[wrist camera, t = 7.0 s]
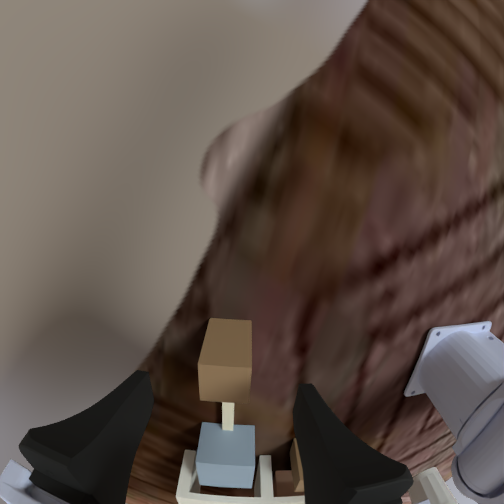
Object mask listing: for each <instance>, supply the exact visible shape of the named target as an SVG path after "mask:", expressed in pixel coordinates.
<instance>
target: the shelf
mask: <svg viewBox="0 0 504 504" xmlns="http://www.w3.org/2000/svg"><path fill="white" fill-rule="evenodd" d="M200 487H201V485H200V484H199V479H198V473H197V468H196V451H193V450H185V452H184V457H183V462H182V467H181V472H180V477H179V482H178V487H177V492H176V498H177V501H178V503H179V504H305V496H304V495H303V496H290V497H273V481H272V466H271V455H260V457H259V463H258V469H257V474H256V480H255V485H254V497H231V496H217V495H207V494H200Z"/></svg>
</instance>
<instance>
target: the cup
mask: <svg viewBox="0 0 504 504" xmlns="http://www.w3.org/2000/svg"><path fill="white" fill-rule="evenodd" d="M413 480H414V482H413V485H412V486H411V487H410V489H409V490H408V492H409V495H410V499H411V502H412V504H416V503H418V502H421V501H424V500H426V499H429V501H430V503H431V504H458V502H457V501H456V499H455V498H454V496H453V495H452V493H451V491H450V490H449V488H448V487H447V485H446V484H445V482H444V480H443V479H442V477H441V475H440V474H439V472H438V470H437V468H436V467H433V468H430V469H427V470H425V471H423V472H421V473H419V474H418V475H416V476H415V477H413Z"/></svg>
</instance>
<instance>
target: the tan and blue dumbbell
mask: <svg viewBox="0 0 504 504" xmlns="http://www.w3.org/2000/svg"><path fill="white" fill-rule="evenodd" d="M251 372H252V321H251V320H233V319H218V318H210V319H209V323H208V327H207V331H206V334H205V338H204V342H203V346H202V350H201V353H200V357H199V361H198V377H199V392H200V400H203V401H213V402H222V424H217V423H206V422H202V426H201V432H200V438H199V444H198V450H197V456H196V468H197V473H198V479H199V484H200V485H206V486H216V487H230V488H252V483H253V477H254V471H255V426H251V425H234V403H243V404H249V397H250V385H251Z"/></svg>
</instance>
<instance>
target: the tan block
mask: <svg viewBox="0 0 504 504" xmlns="http://www.w3.org/2000/svg"><path fill="white" fill-rule="evenodd" d="M290 460H291V468H292V470H285V471H275V474H274V478H273V497H290V496H303V495H304V481H303V470H302V464H301V459H300V455H299V450H298V445H297V441H296V438H294V440H293V443H292V446H291V449H290Z"/></svg>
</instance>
